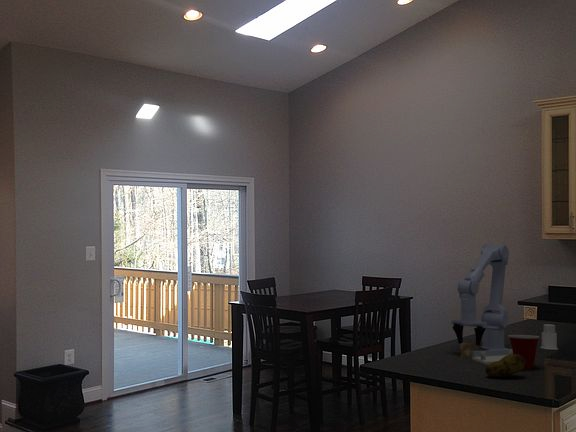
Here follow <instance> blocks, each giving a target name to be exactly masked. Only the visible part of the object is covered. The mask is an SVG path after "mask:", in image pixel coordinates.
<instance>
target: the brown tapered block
mask: <svg viewBox="0 0 576 432" xmlns="http://www.w3.org/2000/svg"><path fill="white" fill-rule="evenodd" d="M459 345H460V358H464V359H472V351H479V346H476V340H475V341H474V340H468V341H465V342H463V343H461V344H459Z"/></svg>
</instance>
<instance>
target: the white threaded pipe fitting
mask: <svg viewBox="0 0 576 432" xmlns="http://www.w3.org/2000/svg"><path fill="white" fill-rule="evenodd" d="M557 335H558V333H557V332H556V324H551V323H550V324H549V323H547V324H543V331H542V332H541V346H540V349H543V350H559V348H558V347H557V346H558V343H557V341H558V336H557Z"/></svg>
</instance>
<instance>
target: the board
mask: <svg viewBox="0 0 576 432" xmlns="http://www.w3.org/2000/svg"><path fill="white" fill-rule="evenodd" d="M510 354H513V351H512V348H507V349H501V350H487V349H485V350H478V351H472V358H471V360H473V361H475V362H478V363H481V364H483V365H485V366H488V365H489V364H491V363H494V362H497V361H499V360H501V359H502V358H503V357H505V356H507V355H510Z"/></svg>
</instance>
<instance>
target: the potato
mask: <svg viewBox="0 0 576 432" xmlns="http://www.w3.org/2000/svg"><path fill="white" fill-rule="evenodd" d="M525 364H526V361H525V359H524V358H523V357H522V356H520V355H518V354H510V355H507V356H505V357H503V358H502V359H501V360H499V361H497V362H494V363H491V364H488V365H486V366H485V374H486V375H487V376H488V377H490V378H506V377H510V376H512V375H515V374H518V373H521V372H524V371H525V370H524V367H525Z"/></svg>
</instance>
